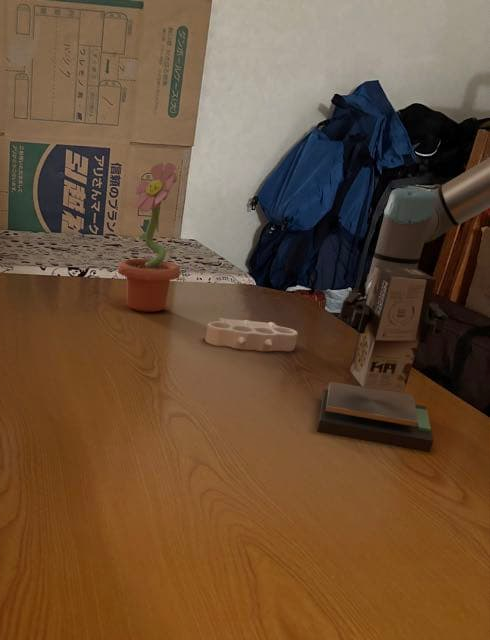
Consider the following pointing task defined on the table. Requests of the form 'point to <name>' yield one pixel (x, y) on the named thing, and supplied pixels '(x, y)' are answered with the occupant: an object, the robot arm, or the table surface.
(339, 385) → the scale pan
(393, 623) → the table surface
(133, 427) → the table surface
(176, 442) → the table surface
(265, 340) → the knuckle duster
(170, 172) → the decorative flower
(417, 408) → the scale
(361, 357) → the coffee box
